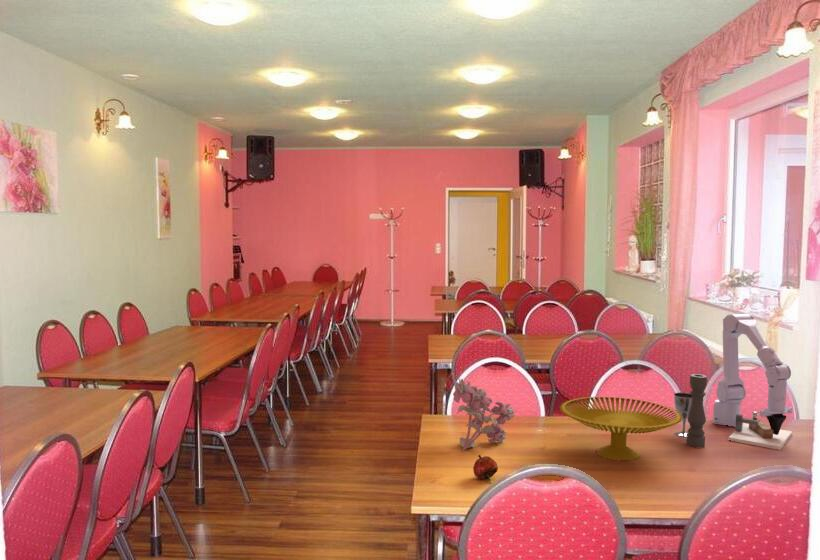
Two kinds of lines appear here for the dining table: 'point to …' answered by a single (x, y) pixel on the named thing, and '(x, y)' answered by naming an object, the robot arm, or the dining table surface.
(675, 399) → the wine glass
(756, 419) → the metal pin
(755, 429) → the walnut link
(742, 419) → the metal keeper
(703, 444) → the candle holder
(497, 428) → the flower
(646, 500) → the dining table surface
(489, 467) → the pomegranate
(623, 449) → the pedestal fruit bowl
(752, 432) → the white plate
